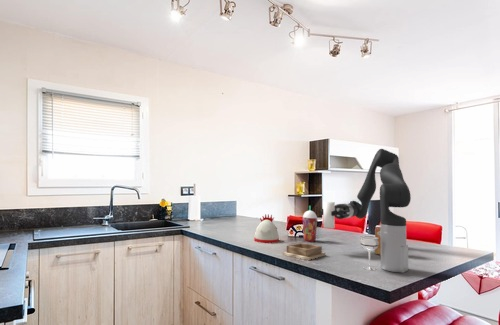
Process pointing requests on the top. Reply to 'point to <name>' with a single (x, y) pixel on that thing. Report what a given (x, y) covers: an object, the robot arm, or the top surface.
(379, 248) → the small box
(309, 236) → the smoothie
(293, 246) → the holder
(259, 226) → the kitchen timer
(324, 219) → the paper roll
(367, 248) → the wineglass
